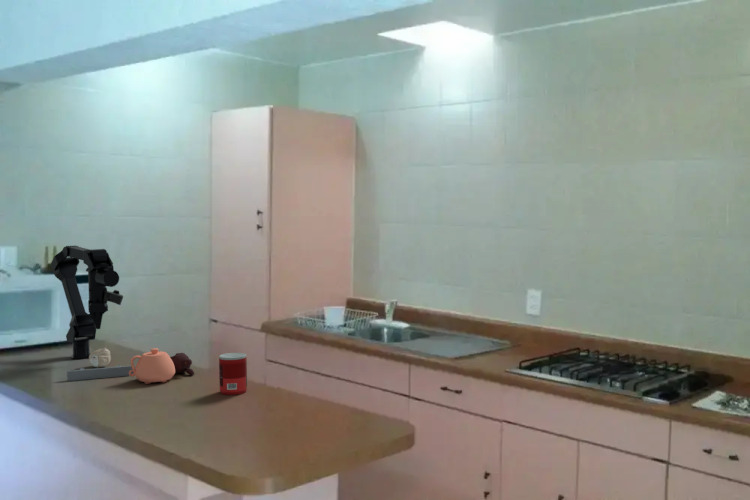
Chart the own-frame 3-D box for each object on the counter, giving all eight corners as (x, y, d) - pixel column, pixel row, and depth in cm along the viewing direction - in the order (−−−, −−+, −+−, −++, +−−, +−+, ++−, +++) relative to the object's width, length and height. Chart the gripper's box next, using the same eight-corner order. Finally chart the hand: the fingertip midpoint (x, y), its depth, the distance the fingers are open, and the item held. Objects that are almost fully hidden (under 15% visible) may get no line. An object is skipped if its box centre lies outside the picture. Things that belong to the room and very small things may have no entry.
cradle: (67, 376, 236) (67, 367, 236) (132, 371, 244) (132, 362, 243) (67, 381, 231) (67, 371, 230) (133, 375, 238) (133, 366, 238)
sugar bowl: (176, 383, 227) (176, 350, 226) (129, 387, 222) (128, 354, 222) (174, 374, 238) (173, 343, 238) (128, 378, 234) (128, 346, 233)
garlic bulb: (94, 370, 246) (93, 346, 246) (86, 367, 251) (85, 344, 250) (113, 366, 251) (112, 343, 250) (105, 364, 255) (104, 341, 255)
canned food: (252, 391, 216) (251, 354, 215) (230, 396, 210) (229, 359, 209) (236, 387, 221) (236, 351, 221) (214, 392, 215) (213, 355, 215)
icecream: (155, 352, 242) (179, 363, 232) (175, 344, 247) (199, 354, 237) (160, 371, 244) (184, 382, 234) (179, 362, 249) (203, 373, 239)
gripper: (122, 286, 251) (123, 331, 252) (120, 281, 268) (121, 323, 269) (87, 288, 247) (89, 333, 248) (87, 282, 264) (89, 325, 265)
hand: (98, 328), depth 257 cm, fingers closed
